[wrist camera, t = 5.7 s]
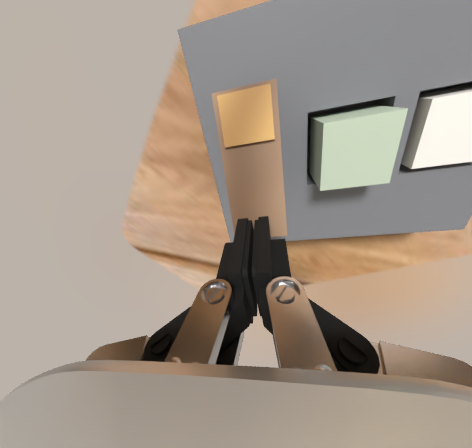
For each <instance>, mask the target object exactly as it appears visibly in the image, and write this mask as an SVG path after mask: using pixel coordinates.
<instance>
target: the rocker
mask: <svg viewBox="0 0 472 448" xmlns="http://www.w3.org/2000/svg"><path fill="white" fill-rule="evenodd" d="M212 100H213V106H214V112H215V119H216V125H217V131H218V137H219V143H220V149H221V155H222V162H223V168H224V174H225V180H226V186H227V192H228V198H229V205H230V211H231V217H232V223H233V229H234V235H235V230H236V225H237V220H238V219H242V218H248V220H252V223H253V229H254V223H255V220H258V217H263V216H268V217H269V226H270V235H271V237H276V236H287V222H286V208H285V194H284V179H283V165H282V151H281V136H280V122H279V108H278V93H277V79H272V80H268V81H263V82H259V83H255V84H250V85H246V86H242V87H238V88H233V89H229V90H225V91H220V92H216V93H212Z"/></svg>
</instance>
